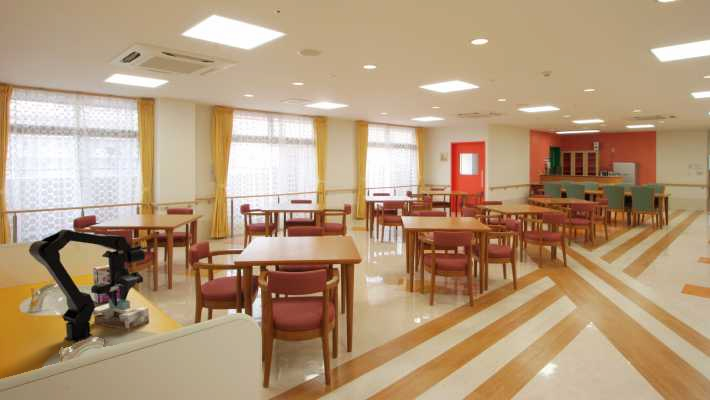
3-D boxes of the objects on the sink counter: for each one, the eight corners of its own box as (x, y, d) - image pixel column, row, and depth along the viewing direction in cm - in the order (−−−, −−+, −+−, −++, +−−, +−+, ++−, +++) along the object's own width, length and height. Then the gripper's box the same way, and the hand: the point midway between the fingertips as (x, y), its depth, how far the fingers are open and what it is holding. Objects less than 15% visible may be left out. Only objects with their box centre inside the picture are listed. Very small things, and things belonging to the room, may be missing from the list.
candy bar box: (98, 304, 192) (96, 269, 190) (94, 302, 195) (92, 267, 193) (124, 298, 200) (122, 264, 199) (120, 296, 203) (118, 262, 202)
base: (129, 330, 160) (128, 315, 160) (94, 323, 168) (93, 308, 168) (149, 322, 168) (148, 308, 168) (115, 315, 176) (114, 301, 176)
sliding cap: (100, 321, 166) (100, 310, 166) (91, 319, 169) (90, 309, 168) (121, 314, 175) (120, 303, 174) (112, 312, 177) (111, 302, 176)
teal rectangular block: (109, 308, 168) (108, 300, 168) (116, 305, 171) (115, 298, 170) (123, 310, 165) (123, 303, 165) (130, 308, 168) (129, 300, 167)
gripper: (108, 274, 155) (111, 315, 156) (151, 263, 172) (153, 300, 173) (89, 271, 159) (91, 311, 160) (132, 260, 176) (134, 297, 177)
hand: (119, 304), depth 168 cm, fingers closed on teal rectangular block, 3 cm apart
